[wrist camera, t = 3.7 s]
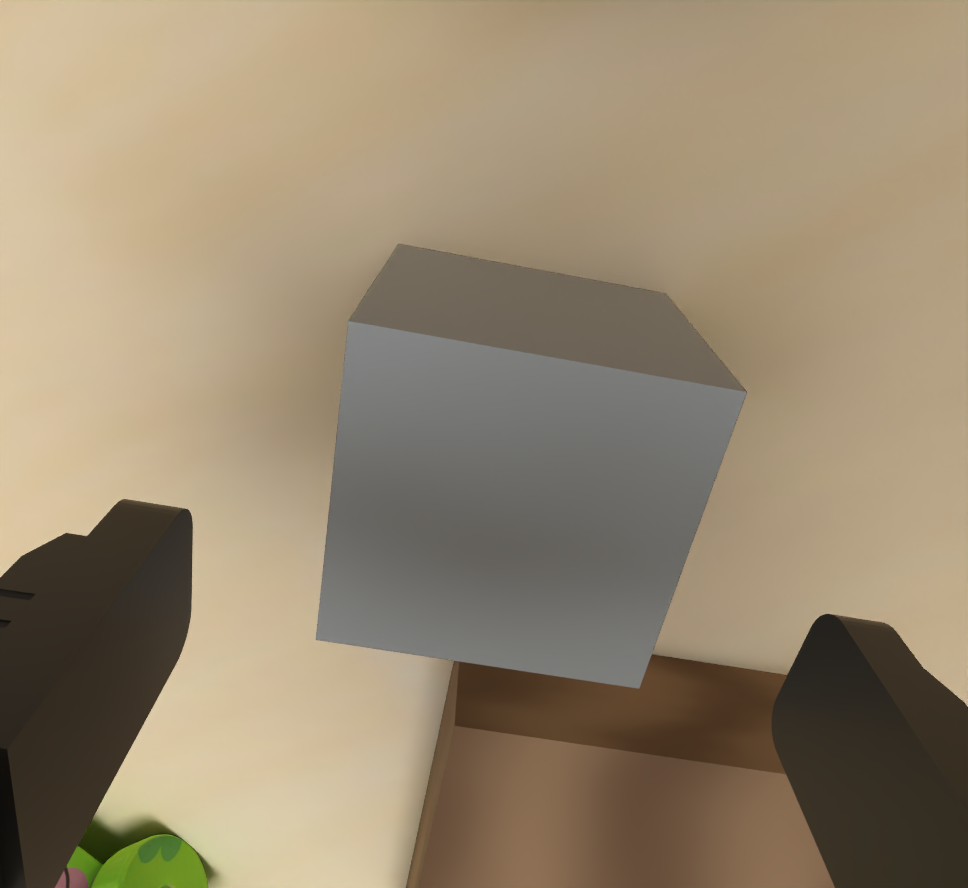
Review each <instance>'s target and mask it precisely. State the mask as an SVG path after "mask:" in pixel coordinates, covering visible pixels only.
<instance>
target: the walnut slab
mask: <svg viewBox="0 0 968 888" xmlns="http://www.w3.org/2000/svg"><path fill="white" fill-rule="evenodd" d="M786 677H787V675H782V674H775V673H769V672H762V671H756V670H749V669H743V668H736V667H730V666H724V665H717V664H711V663H704V662H698V661H691V660H685V659H678V658H672V657H665V656H659V655H651V658H650V660H649V663H648V666H647V669H646V671H645V674H644V677H643V680H642V682H641V685H640V688H639V689H638V688H631V687H625V686H618V685H612V684H605V683H598V682H592V681H585V680H579V679H572V678H565V677H559V676H552V675H545V674H539V673H532V672H526V671H519V670H512V669H506V668H499V667H493V666H486V665H479V664H473V663H466V662H459V661H454V663H453V668H452V673H451V677H450V682H449V687H448V692H447V696H446V701H445V706H444V710H443V715H442V720H441V725H440V729H439V734H438V739H437V744H436V748H435V753H434V758H433V762H432V767H431V772H430V777H429V781H428V786H427V791H426V796H425V800H424V805H423V810H422V814H421V819H420V824H419V829H418V833H417V838H416V843H415V848H414V852H413V857H412V862H411V867H410V871H409V876H408V881H407V885H406V888H835V887H834V884H833V882H832V880H831V877H830V875H829V873H828V870H827V868H826V866H825V863H824V861H823V859H822V856H821V854H820V852H819V849H818V847H817V845H816V842H815V840H814V838H813V836H812V833H811V831H810V829H809V826H808V824H807V822H806V819H805V817H804V815H803V812H802V810H801V808H800V805H799V803H798V801H797V798H796V796H795V794H794V791H793V789H792V787H791V784H790V782H789V780H788V778H787V775H786V773H785V771H784V768H783V766H782V764H781V761H780V759H779V757H778V754H777V752H776V749H775V746H774V742H773V737H772V712H773V707H774V703H775V700H776V698H777V696H778V694H779V692H780V689H781V687H782V685H783V683H784V681H785V679H786Z"/></svg>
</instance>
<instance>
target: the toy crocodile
mask: <svg viewBox="0 0 968 888" xmlns="http://www.w3.org/2000/svg"><path fill="white" fill-rule="evenodd" d="M55 888H208V883H207V877H206V874H205V871H204V868H203V865H202V863H201V861H200V859H199V857H198V855H197V853H196V852H195V851H194V850H193V848H192V847H191V846H189V845H188V844H187V843H186V842H185V841H183V840H182V839H180V838H178V837H175V836H173V835H167V834H162V835H154V836H151V837H148V838H146V839H143V840H141V841H139V842H136V843H134V844H132V845H129V846H127V847H125V848H123V849H121V850H119V851H118V852H117V853H115V854H114V855H113V856H112V857H110V858H109V859H108V860H107V861H106V862H105V864H104V865H102V864H101V863H100V862H99V861H97V860H96V859H95V858H93V857H92V856H91V855H90V854H88V853H87V852H86V851H84V850H83V849H82V848H80V847H79V846H77V848H76V850H75V851H74V853H73V855H72V857H71V859H70V861H69V862H68V864H67V866H66V868H65V870H64V872H63V874H62V875H61V877H60V879H59V881H58V883H57V885H56V886H55Z"/></svg>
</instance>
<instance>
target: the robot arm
mask: <svg viewBox="0 0 968 888" xmlns="http://www.w3.org/2000/svg"><path fill="white" fill-rule="evenodd" d="M192 536H193V523H192V516H191V513H190V511H189V510H188V509H183V508H177V507H171V506H165V505H158V504H152V503H146V502H140V501H134V500H127V499H123V500H121V501H119V502H118V503H117V504H116V505H115V506H114V507H113V508H112V509H111V510H110V511H109V512H108V513H107V515H106V516H105V517H104V518H103V519H102V520H101V521H100V522H99V524H98V525H97V526H96V527H95V528H94V529H93V530H92V531H91V533H90V534H89V535H88V536H82V535H75V534H69V533H65V534H63V535H61V536H59V537H57V538H56V539H54V540H52V541H50V542H48V543H46V544H44V545H42V546H40V547H38V548H36V549H34V550H33V551H31V552H29V553H27V554H25V555H23V556H21V557H20V558H19V559H18V560H17V561H16V562H15V563H14V564H13V565H12V566H11V567H10V568H9V569H8V570H7V571H6V572H5V573H4V574H3V575H2V577H1V578H0V888H55V886H56V885H57V883H58V881H59V879H60V877H61V875H62V874H63V872H64V870H65V868H66V866H67V864H68V862H69V861H70V859H71V857H72V855H73V853H74V851H75V850H76V848H77V846H78V844H79V842H80V840H81V838H82V837H83V835H84V833H85V831H86V829H87V827H88V826H89V824H90V822H91V820H92V818H93V816H94V814H95V813H96V811H97V809H98V807H99V805H100V803H101V802H102V800H103V798H104V796H105V794H106V792H107V790H108V789H109V787H110V785H111V783H112V781H113V779H114V777H115V776H116V774H117V772H118V770H119V768H120V766H121V765H122V763H123V761H124V759H125V757H126V755H127V753H128V752H129V750H130V748H131V746H132V744H133V742H134V741H135V739H136V737H137V735H138V733H139V731H140V729H141V728H142V726H143V724H144V722H145V720H146V718H147V717H148V715H149V713H150V711H151V709H152V707H153V705H154V704H155V702H156V700H157V698H158V696H159V694H160V693H161V691H162V689H163V687H164V685H165V683H166V681H167V680H168V678H169V676H170V674H171V672H172V670H173V669H174V667H175V665H176V663H177V661H178V659H179V657H180V654H181V652H182V649H183V646H184V643H185V640H186V637H187V633H188V628H189V623H190V617H191V599H192ZM772 737H773V742H774V746H775V749H776V752H777V754H778V757H779V759H780V761H781V764H782V766H783V768H784V771H785V773H786V775H787V778H788V780H789V782H790V784H791V787H792V789H793V791H794V794H795V796H796V798H797V801H798V803H799V805H800V808H801V810H802V812H803V815H804V817H805V819H806V822H807V824H808V826H809V829H810V831H811V833H812V836H813V838H814V840H815V842H816V845H817V847H818V849H819V852H820V854H821V856H822V859H823V861H824V863H825V866H826V868H827V870H828V873H829V875H830V877H831V880H832V882H833V884H834V887H835V888H968V707H967V705H966V704H965V703H964V702H963V701H962V700H961V699H959V698H958V697H957V696H956V695H955V694H954V693H952V692H951V691H950V690H949V689H948V688H946V687H945V686H944V685H943V684H942V683H941V682H939V681H938V680H937V679H936V678H935V677H934V676H932V675H931V674H930V673H929V672H928V671H927V670H925V669H924V668H923V667H922V666H921V664H920V663H919V662H918V660H917V659H916V658H915V656H914V655H913V654H912V652H911V651H910V650H909V648H908V647H907V646H906V644H905V643H904V642H903V640H902V639H901V638H900V636H899V635H898V634H897V632H896V631H895V630H894V629H893V628H892V627H891V626H889V625H888V624H886V623H882V622H875V621H869V620H863V619H857V618H851V617H844V616H838V615H832V614H825V615H822V616H820V617H819V618H818V619H817V620H816V621H815V622H814V623H813V625H812V627H811V628H810V630H809V633H808V635H807V637H806V639H805V641H804V643H803V645H802V647H801V649H800V651H799V653H798V655H797V657H796V659H795V661H794V663H793V665H792V667H791V669H790V671H789V673H788V675H787V677H786V679H785V681H784V683H783V685H782V687H781V689H780V692H779V694H778V696H777V698H776V700H775V703H774V707H773V712H772Z"/></svg>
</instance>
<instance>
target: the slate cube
mask: <svg viewBox="0 0 968 888" xmlns="http://www.w3.org/2000/svg"><path fill="white" fill-rule="evenodd" d="M746 393H747V392H746V390H745V389H744V388H743V387H742V386H741V384H740V383H739V382H738V381H737V380H736V378H735V377H734V376H733V375H732V373H731V372H730V371H729V370H728V369H727V367H726V366H725V365H724V364H723V363H722V361H721V360H720V359H719V358H718V356H717V355H716V354H715V353H714V352H713V350H712V349H711V348H710V347H709V346H708V344H707V343H706V342H705V341H704V339H703V338H702V337H701V336H700V335H699V333H698V332H697V331H696V330H695V329H694V327H693V326H692V325H691V324H690V322H689V321H688V320H687V319H686V318H685V316H684V315H683V314H682V313H681V312H680V310H679V309H678V308H677V307H676V305H675V304H674V303H673V302H672V301H671V299H670V298H669V297H668V296H667V295H666V293H661V292H655V291H650V290H645V289H639V288H634V287H628V286H623V285H618V284H612V283H607V282H601V281H596V280H591V279H585V278H580V277H575V276H569V275H564V274H558V273H553V272H548V271H542V270H537V269H532V268H526V267H521V266H515V265H510V264H505V263H499V262H494V261H488V260H483V259H478V258H472V257H467V256H462V255H456V254H451V253H445V252H440V251H435V250H429V249H424V248H418V247H413V246H408V245H402V244H398V245H397V247H396V248H395V250H394V252H393V253H392V255H391V256H390V258H389V259H388V261H387V262H386V264H385V265H384V267H383V268H382V270H381V272H380V273H379V275H378V276H377V278H376V279H375V281H374V282H373V284H372V285H371V287H370V288H369V290H368V291H367V293H366V295H365V296H364V298H363V299H362V301H361V302H360V304H359V305H358V307H357V308H356V310H355V311H354V313H353V315H352V316H351V318H350V319H349V321H348V329H347V339H346V348H345V358H344V368H343V378H342V388H341V398H340V407H339V417H338V427H337V437H336V447H335V457H334V466H333V476H332V486H331V496H330V506H329V515H328V525H327V535H326V545H325V555H324V565H323V574H322V584H321V594H320V604H319V614H318V624H317V633H316V640H321V641H327V642H334V643H340V644H347V645H354V646H360V647H367V648H373V649H380V650H387V651H393V652H400V653H407V654H413V655H420V656H426V657H433V658H440V659H446V660H453V661H459V662H466V663H473V664H479V665H486V666H493V667H499V668H506V669H512V670H519V671H526V672H532V673H539V674H545V675H552V676H559V677H565V678H572V679H579V680H585V681H592V682H598V683H605V684H612V685H618V686H625V687H631V688H638V689H639V688H640V685H641V682H642V680H643V677H644V674H645V671H646V669H647V666H648V663H649V660H650V658H651V655H652V652H653V649H654V647H655V644H656V641H657V638H658V636H659V633H660V630H661V627H662V625H663V622H664V619H665V616H666V614H667V611H668V608H669V605H670V603H671V600H672V597H673V594H674V592H675V589H676V586H677V583H678V581H679V578H680V575H681V572H682V569H683V567H684V564H685V561H686V558H687V556H688V553H689V550H690V547H691V545H692V542H693V539H694V536H695V534H696V531H697V528H698V525H699V523H700V520H701V517H702V514H703V512H704V509H705V506H706V503H707V501H708V498H709V495H710V492H711V490H712V487H713V484H714V481H715V479H716V476H717V473H718V470H719V468H720V465H721V462H722V459H723V457H724V454H725V451H726V448H727V446H728V443H729V440H730V437H731V435H732V432H733V429H734V426H735V424H736V421H737V418H738V415H739V413H740V410H741V407H742V404H743V402H744V399H745V396H746Z"/></svg>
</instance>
